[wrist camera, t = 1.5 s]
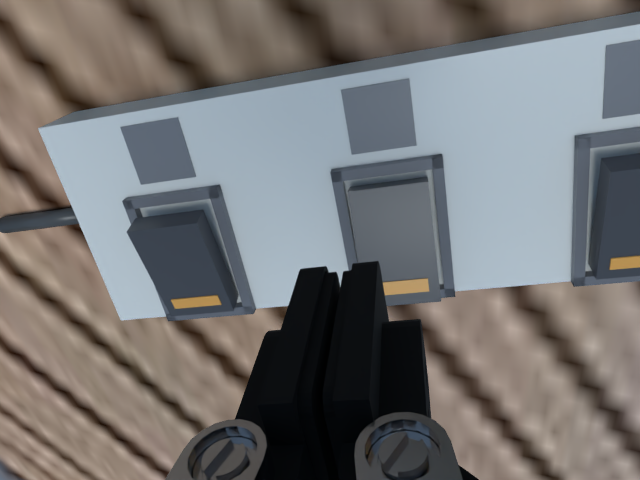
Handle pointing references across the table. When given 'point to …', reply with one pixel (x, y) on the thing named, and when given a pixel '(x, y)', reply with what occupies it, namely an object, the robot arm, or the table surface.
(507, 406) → the table surface
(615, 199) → the rocker
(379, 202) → the rocker middle
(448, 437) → the robot arm
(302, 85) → the rocker switch panel
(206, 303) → the rocker
